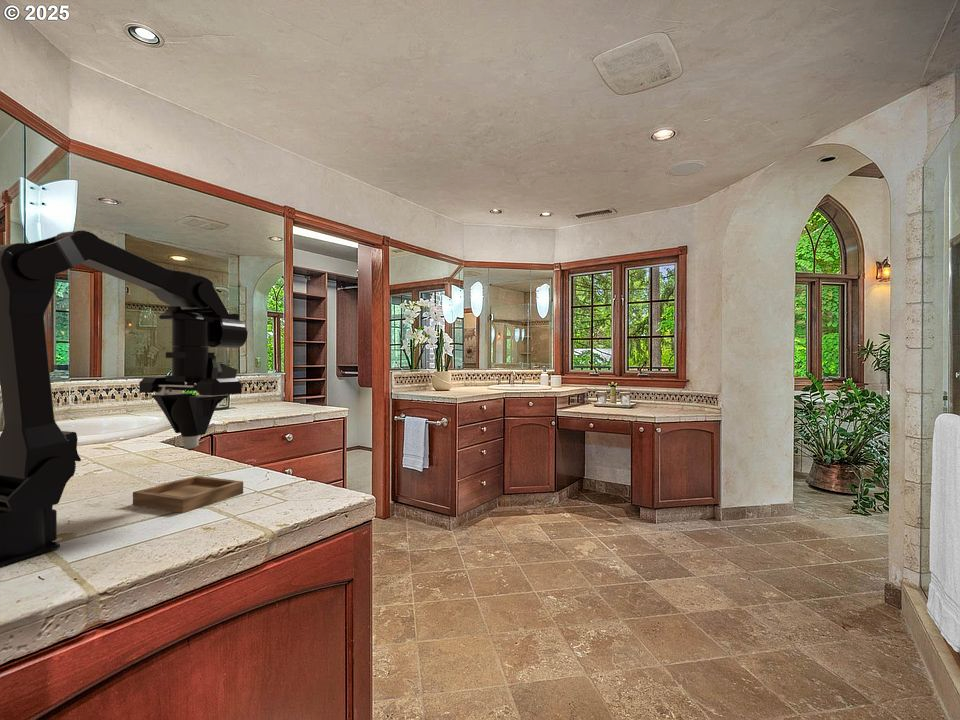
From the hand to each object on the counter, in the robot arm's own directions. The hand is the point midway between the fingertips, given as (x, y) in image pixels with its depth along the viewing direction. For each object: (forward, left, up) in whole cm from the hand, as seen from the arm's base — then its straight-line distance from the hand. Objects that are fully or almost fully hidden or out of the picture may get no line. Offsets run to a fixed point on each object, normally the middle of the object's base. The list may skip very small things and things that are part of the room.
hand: (190, 433), depth 84 cm
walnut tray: (0, 0, -12) cm, 12 cm away
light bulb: (0, 0, -3) cm, 3 cm away
